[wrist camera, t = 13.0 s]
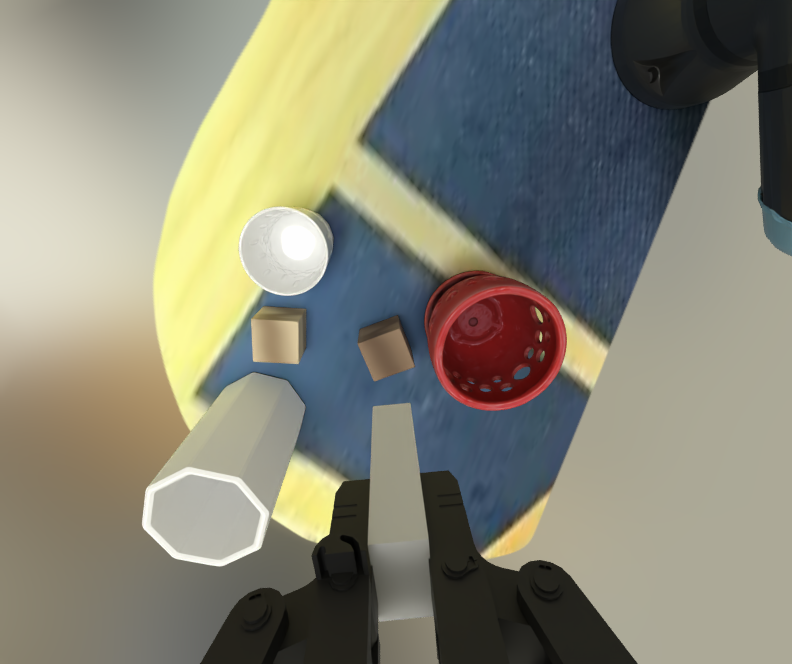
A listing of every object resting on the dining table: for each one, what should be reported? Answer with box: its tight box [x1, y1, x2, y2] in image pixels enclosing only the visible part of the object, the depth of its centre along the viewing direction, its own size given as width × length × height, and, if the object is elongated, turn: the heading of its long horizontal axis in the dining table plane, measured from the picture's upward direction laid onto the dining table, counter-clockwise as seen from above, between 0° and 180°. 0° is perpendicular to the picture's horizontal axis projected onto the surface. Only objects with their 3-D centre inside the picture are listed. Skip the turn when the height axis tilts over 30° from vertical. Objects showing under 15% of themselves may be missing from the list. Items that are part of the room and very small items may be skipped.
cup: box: [142, 372, 306, 566], centre depth 43 cm, size 11×11×18 cm
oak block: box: [251, 306, 306, 364], centre depth 46 cm, size 5×5×5 cm
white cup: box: [239, 207, 334, 296], centre depth 40 cm, size 8×8×10 cm
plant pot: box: [424, 271, 567, 410], centre depth 43 cm, size 13×13×12 cm
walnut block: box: [358, 315, 415, 381], centre depth 47 cm, size 5×5×5 cm
